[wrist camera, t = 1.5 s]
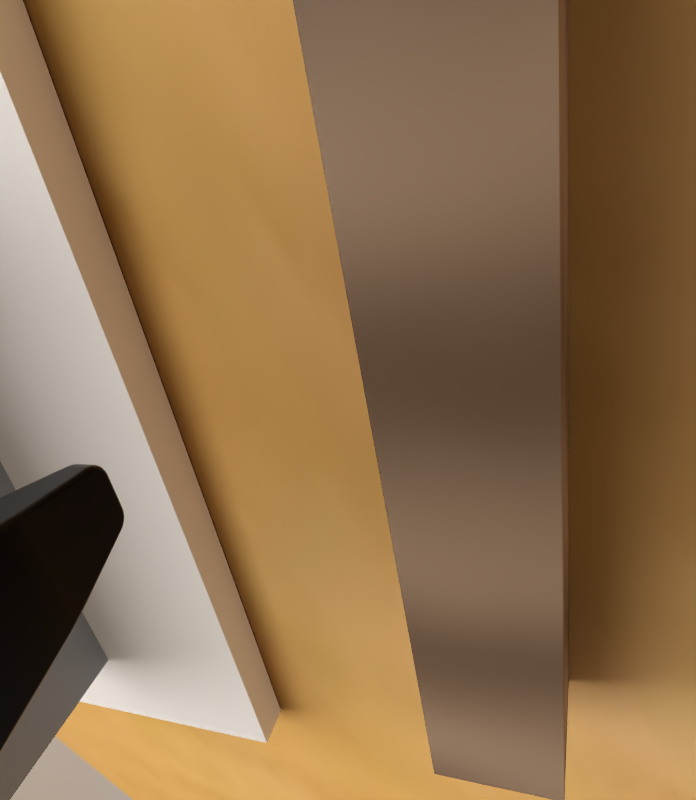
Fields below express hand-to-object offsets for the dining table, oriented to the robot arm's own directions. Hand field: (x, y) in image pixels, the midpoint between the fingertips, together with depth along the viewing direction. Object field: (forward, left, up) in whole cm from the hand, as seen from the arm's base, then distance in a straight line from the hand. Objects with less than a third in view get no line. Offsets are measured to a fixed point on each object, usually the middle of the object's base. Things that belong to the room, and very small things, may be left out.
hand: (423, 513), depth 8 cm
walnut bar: (0, 0, -6) cm, 6 cm away
